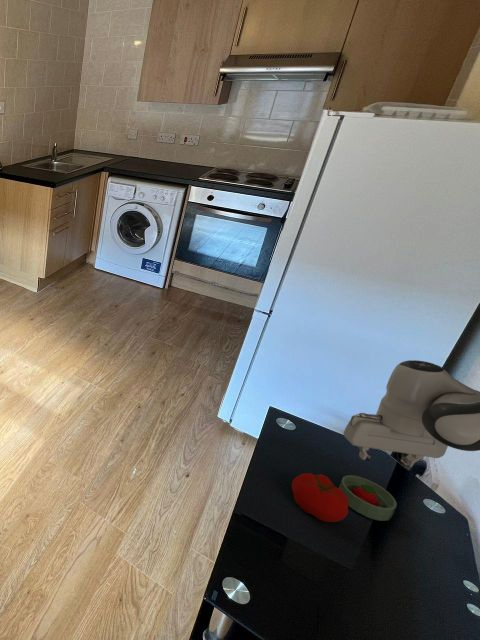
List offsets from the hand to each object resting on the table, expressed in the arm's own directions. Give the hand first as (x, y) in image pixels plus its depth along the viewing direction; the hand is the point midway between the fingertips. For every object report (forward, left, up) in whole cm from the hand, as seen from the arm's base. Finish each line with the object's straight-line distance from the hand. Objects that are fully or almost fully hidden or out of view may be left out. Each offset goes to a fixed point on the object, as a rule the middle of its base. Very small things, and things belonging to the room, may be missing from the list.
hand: (384, 461), depth 108 cm
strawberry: (0, -1, -15) cm, 15 cm away
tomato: (+15, +5, -16) cm, 22 cm away
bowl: (0, -1, -15) cm, 15 cm away
